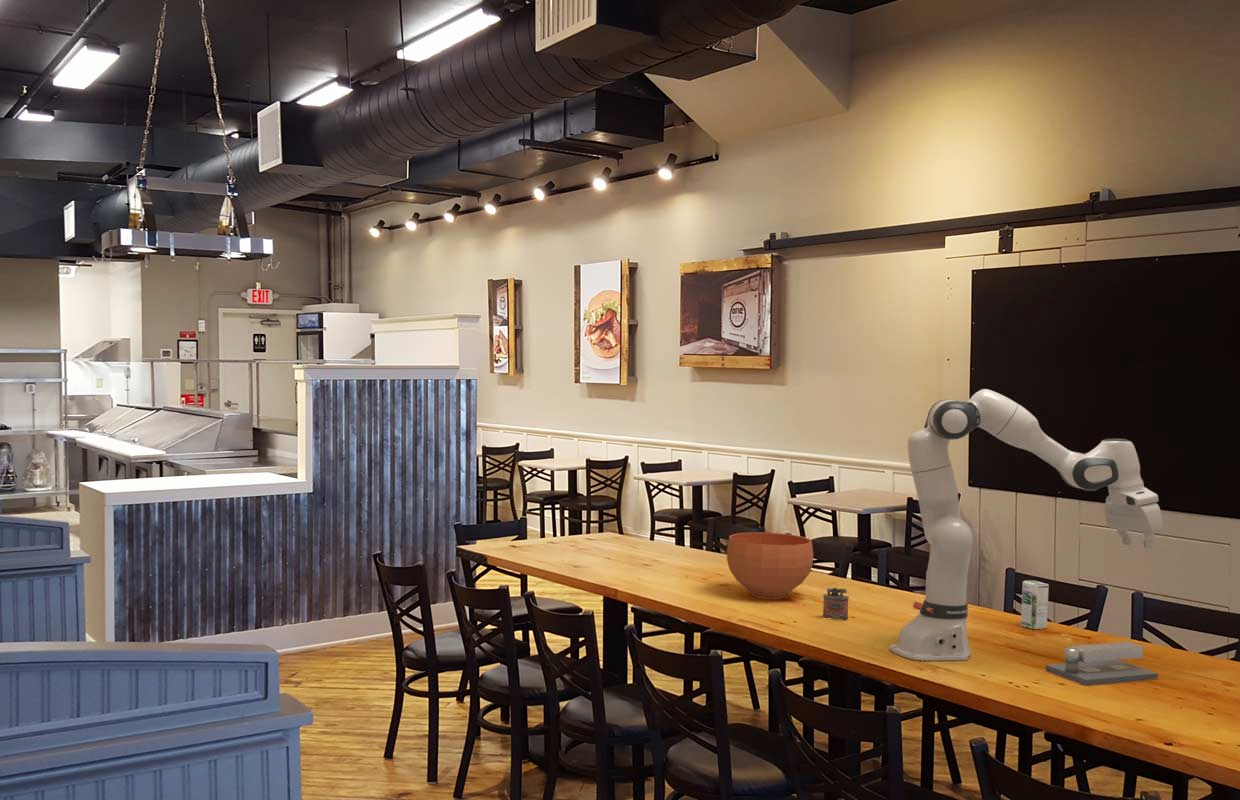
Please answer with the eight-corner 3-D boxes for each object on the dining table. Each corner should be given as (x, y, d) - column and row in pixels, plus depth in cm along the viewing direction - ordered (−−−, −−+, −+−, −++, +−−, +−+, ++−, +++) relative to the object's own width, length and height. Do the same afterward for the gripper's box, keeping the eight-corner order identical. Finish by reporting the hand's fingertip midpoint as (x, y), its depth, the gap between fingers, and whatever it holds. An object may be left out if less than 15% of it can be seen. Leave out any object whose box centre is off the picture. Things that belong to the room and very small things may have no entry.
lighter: (822, 619, 322) (823, 588, 322) (822, 616, 326) (823, 586, 325) (848, 621, 320) (849, 589, 320) (848, 618, 324) (849, 587, 323)
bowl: (793, 609, 335) (795, 548, 334) (711, 598, 350) (713, 539, 349) (823, 594, 361) (824, 537, 360) (745, 584, 376) (747, 529, 375)
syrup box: (1019, 626, 320) (1021, 580, 320) (1034, 625, 322) (1036, 580, 322) (1033, 630, 315) (1034, 584, 315) (1047, 629, 317) (1049, 583, 317)
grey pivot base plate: (1085, 685, 256) (1086, 669, 256) (1045, 670, 269) (1046, 654, 269) (1157, 679, 264) (1158, 663, 264) (1115, 664, 277) (1115, 649, 277)
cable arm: (1073, 663, 260) (1074, 651, 260) (1059, 658, 265) (1059, 646, 265) (1142, 657, 268) (1143, 646, 268) (1127, 652, 272) (1127, 641, 272)
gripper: (1095, 496, 285) (1104, 544, 285) (1140, 500, 265) (1151, 551, 264) (1115, 492, 286) (1125, 540, 285) (1162, 495, 266) (1172, 546, 265)
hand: (1138, 545), depth 275 cm, fingers open, 8 cm apart
